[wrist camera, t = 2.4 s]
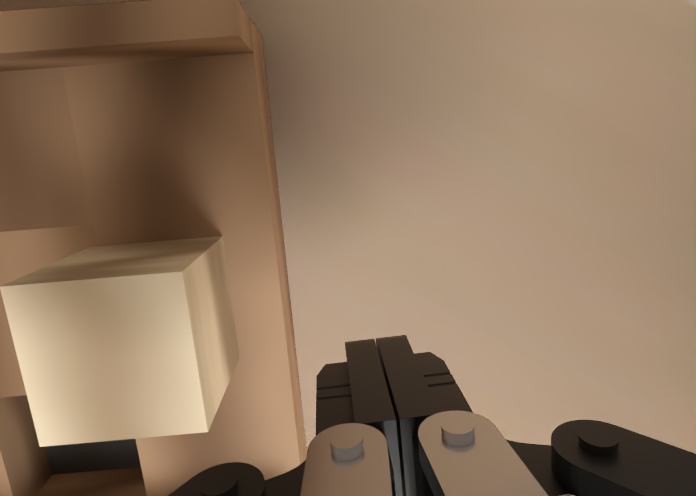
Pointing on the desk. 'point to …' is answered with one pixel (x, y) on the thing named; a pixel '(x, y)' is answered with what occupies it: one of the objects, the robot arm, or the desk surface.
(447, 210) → the desk surface
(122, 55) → the tray
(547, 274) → the desk surface
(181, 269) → the birch block
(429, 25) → the desk surface
